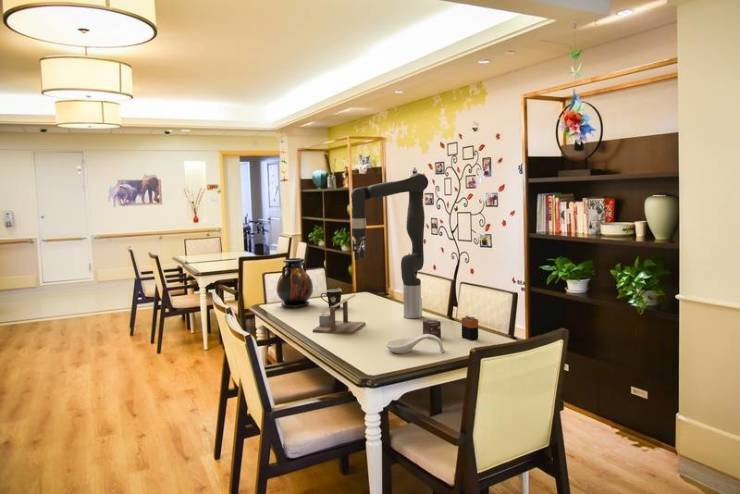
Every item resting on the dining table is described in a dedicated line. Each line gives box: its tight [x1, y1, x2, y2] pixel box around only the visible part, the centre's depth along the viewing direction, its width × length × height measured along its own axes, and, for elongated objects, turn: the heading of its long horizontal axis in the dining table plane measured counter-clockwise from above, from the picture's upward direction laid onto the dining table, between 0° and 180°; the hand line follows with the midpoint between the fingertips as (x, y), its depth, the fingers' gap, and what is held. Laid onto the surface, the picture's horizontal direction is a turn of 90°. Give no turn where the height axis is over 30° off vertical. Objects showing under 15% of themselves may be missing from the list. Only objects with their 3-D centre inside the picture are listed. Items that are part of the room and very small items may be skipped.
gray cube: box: [318, 313, 330, 326], centre depth 270 cm, size 5×5×5 cm
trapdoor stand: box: [312, 298, 366, 335], centre depth 268 cm, size 20×20×13 cm
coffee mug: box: [320, 288, 342, 310], centre depth 318 cm, size 12×9×10 cm
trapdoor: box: [321, 293, 356, 315], centre depth 267 cm, size 14×14×1 cm
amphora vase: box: [276, 257, 314, 309], centre depth 324 cm, size 22×22×28 cm
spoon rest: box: [385, 333, 445, 354], centre depth 226 cm, size 24×12×7 cm, turn 86°
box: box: [422, 319, 442, 340], centre depth 248 cm, size 6×6×7 cm
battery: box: [461, 315, 479, 342], centre depth 244 cm, size 4×7×10 cm, turn 31°
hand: (359, 258), depth 281 cm, fingers open, 8 cm apart
